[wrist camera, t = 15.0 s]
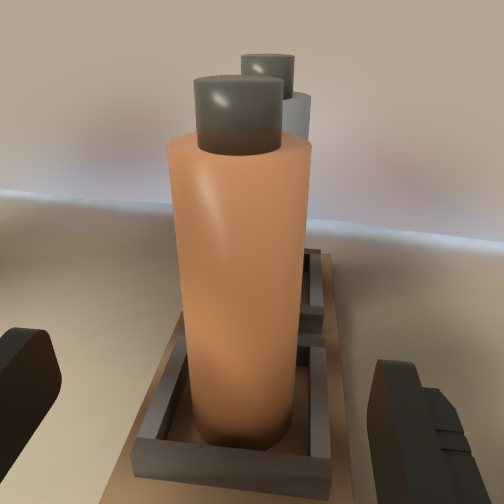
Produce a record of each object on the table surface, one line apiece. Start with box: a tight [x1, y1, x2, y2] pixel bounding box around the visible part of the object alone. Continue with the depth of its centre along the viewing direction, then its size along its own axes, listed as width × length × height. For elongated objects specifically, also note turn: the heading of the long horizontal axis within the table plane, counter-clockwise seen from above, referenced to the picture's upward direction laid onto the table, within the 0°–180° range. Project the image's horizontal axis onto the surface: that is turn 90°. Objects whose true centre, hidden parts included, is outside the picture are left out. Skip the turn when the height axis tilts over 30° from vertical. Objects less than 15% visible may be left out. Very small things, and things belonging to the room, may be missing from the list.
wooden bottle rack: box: [99, 248, 354, 504], centre depth 25 cm, size 22×10×3 cm, turn 173°
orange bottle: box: [167, 75, 312, 451], centre depth 17 cm, size 5×5×15 cm
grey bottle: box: [241, 54, 311, 141], centre depth 25 cm, size 5×5×15 cm
